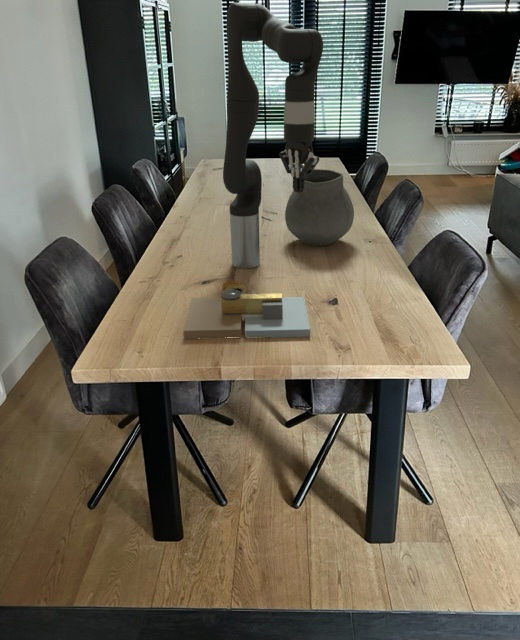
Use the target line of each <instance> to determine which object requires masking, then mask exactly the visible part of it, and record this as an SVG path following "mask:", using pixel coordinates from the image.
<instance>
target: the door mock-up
mask: <svg viewBox="0 0 520 640" xmlns="http://www.w3.org/2000/svg"><path fill="white" fill-rule="evenodd" d="M243 318H244V319H245V320H244V338H245V337H272V338H303V337H304V338H306V337H309V338H310V337H311V326H310V321H309V320H310V319H309V315H308V311H307V306H306V300H305V297H304V296H293V297H292V296H291V297H289V296H288V297H283V296H282V302H263V313H222V306H221V297H191V300H190V303H189V307H188V312H187V315H186V319H185V322H184V327H183V340H184V339H185V340H203V339H202V338H225V337H226V338H227V337H241V338H242V329H241V327H242V325H243ZM242 328H243V327H242ZM198 338H200V339H198Z"/></svg>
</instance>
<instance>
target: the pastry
mask: <svg viewBox="0 0 520 640" xmlns="http://www.w3.org/2000/svg"><path fill="white" fill-rule="evenodd" d="M229 289H235V290H239V291H240V292H241V294H247V292H248V290H247V288H246V286H245V285H244V284H243V282H241V281H237V280H226V281H225V282H223V283H222V290H221V292H223V291H225V290H229Z"/></svg>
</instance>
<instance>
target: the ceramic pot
mask: <svg viewBox="0 0 520 640" xmlns="http://www.w3.org/2000/svg"><path fill="white" fill-rule="evenodd" d="M354 217H355V210H354V205H353V202H352V199H351V197H350V195H349V193H348V191H347V189H346V188H345V186H344V173H341V172H339V171H335V170H331V169H323V168H322V169H321V168H320V169H319V168H318V169H317V168H314V170H313V171H312V173H311V174H310V175H308V176H305V178H304V190H303V192H299V193H298V192H294V191H293V190H292V192H291V194H290V196H289V197H288V200H287V203H286V207H285V213H284V221H285V225H286V227H287V230H288V231H289V232H290V233H291V234H292V235H293V237H295V238H297V239H298V240H299V241H301V242H303V243H304V244H306V245H309V246H313V247H317V246H318V247H320V246H321V247H322V246H327V245H331V244H333V243H335V242H337V241H339V240H340V239H342V238H343V237H344V236H345V235H346V234H347V233H349V232H350V230H351V228H352V226H353V223H354V219H355V218H354Z"/></svg>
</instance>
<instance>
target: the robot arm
mask: <svg viewBox="0 0 520 640" xmlns="http://www.w3.org/2000/svg"><path fill="white" fill-rule="evenodd" d="M260 41H263V43H264V45H265V46H266V47H267V48H268V49H270V50H272V51H273V52H275V53H276V54H277V56H278V58H279V60H280V61H281V62H283V63H288V64H302V66H301V68H300V70H299V71H298V72H296V73H292V74H290V75H287V76H286V78H285V81H284V82H285V83H284V107H283V141H285V143H286V144H285V147H284V150H283V151H280V152H279V153H278V155H279V157H280V159H281V162H282V164H283V167H284V169H285V171H286V173H287V174H290V175H291V178H292V192H293V191H294V192H298V193H299V192H303V190H304V178H305V176H308V175H310V174H311V173H312V171H313V170H314V169H316V168H315V167H316V166H317V165H318V164H319V161H320V157H319V156H315V155H314V149H313V145H312V142H314V140H315V127H316V126H315V123H316V122H315V120H316V118H315V117H316V111H315V110H316V109H315V84H316V78H317V74H318V70H319V66H320V63H321V60H322V56H323V51H324V40H323V37H322V35H321V33H320V32H319V30H317V29H313V28H312V29H311V28H305V29H303V28H301V29H299V28H297V27H295V25H293V24H291V23H289V22H286V21H285V20H282V19H279V18H278V17H277V16H275V15H274V14H273V13H272V12H271V11H270V10H269V9H268V8H267V7H266V6H264V5H262V4H260V3H253V2H250V3H249V2H232V3H230V5H229V6H228V9H227V12H226V44H227V45H226V47H227V90H226V91H227V92H226V93H227V95H226V138H225V151H224V159H223V170H222V179H223V181H222V182H223V184H224V187H225V188H226V190H227V191H228V192H229V193H231V194H232V195H236V196H235V198H234V199H233V201H231V202H230V205H229V221H230V223H229V224H230V226H229V227H230V244H231V245H230V246H231V247H230V249H231V265H232V267H235V268H237V269H253V268H257V267H258V266H260V264H261V255H260V252H261V246H260V210H259V209H260V206H261V203H262V187H263V185H262V184H263V183H262V179H263V177H262V171H261V168H260V165H258V163H257V162H256V161H254V160H252V159H247V150H248V145H249V141H250V140H251V138H252V135H253V131H254V129H255V128H256V124H257V123H258V118H259V111H260V110H259V109H260V92H259V88H258V86H257V84H256V82H255V80H254V78H253V77H252V75H251V73H250V70H249V68H248V66H247V64H246V61H245V58H244V52H243V50H244V49H243V42H255V43H256V42H260Z"/></svg>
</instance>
